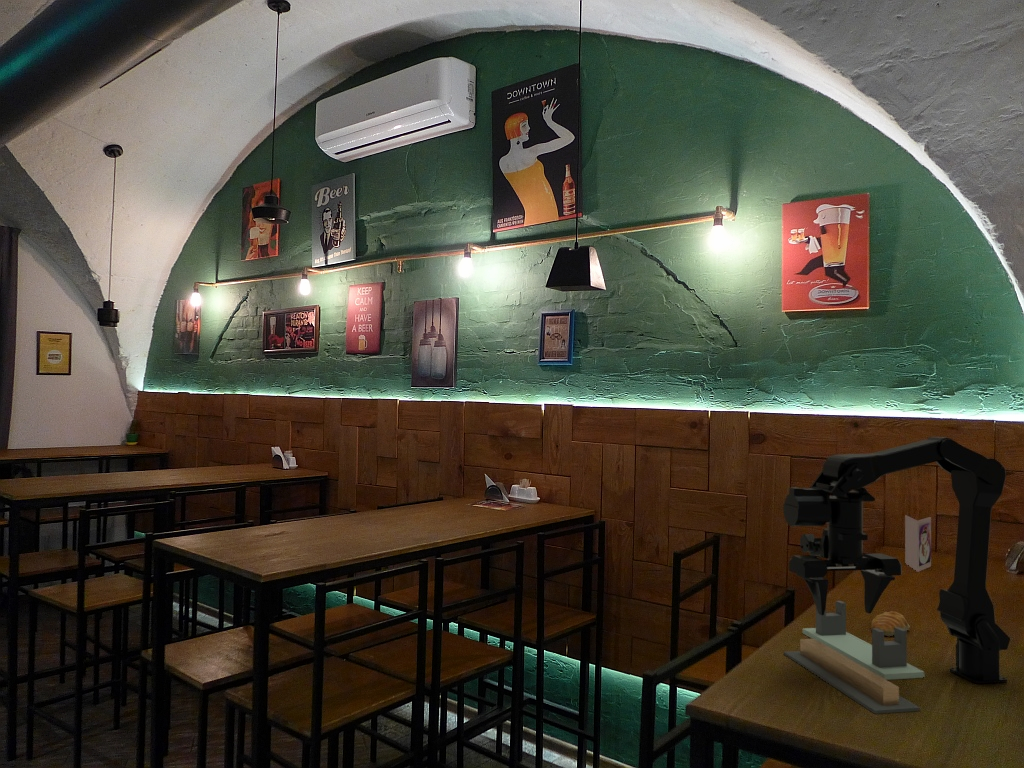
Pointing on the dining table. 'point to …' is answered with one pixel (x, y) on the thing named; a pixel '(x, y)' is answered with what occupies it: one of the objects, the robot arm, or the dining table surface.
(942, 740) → the dining table surface
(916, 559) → the greeting card
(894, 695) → the copper rail
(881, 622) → the pastry
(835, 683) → the rubber mat
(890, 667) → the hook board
